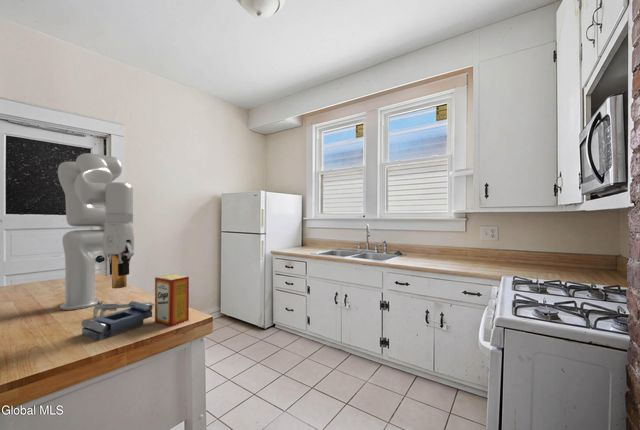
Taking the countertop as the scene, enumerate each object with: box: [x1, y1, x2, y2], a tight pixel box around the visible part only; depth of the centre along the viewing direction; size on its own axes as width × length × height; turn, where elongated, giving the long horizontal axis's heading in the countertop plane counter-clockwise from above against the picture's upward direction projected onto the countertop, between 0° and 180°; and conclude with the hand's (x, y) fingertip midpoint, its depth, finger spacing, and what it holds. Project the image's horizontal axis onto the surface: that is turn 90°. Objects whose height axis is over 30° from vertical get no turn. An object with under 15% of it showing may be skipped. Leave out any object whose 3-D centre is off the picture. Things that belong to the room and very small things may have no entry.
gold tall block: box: [111, 251, 128, 290], centre depth 92 cm, size 4×4×12 cm
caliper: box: [92, 300, 155, 319], centre depth 110 cm, size 20×1×6 cm, turn 142°
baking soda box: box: [154, 273, 190, 328], centre depth 99 cm, size 10×6×16 cm
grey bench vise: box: [81, 300, 154, 341], centre depth 93 cm, size 10×16×6 cm, turn 154°
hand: (119, 274), depth 92 cm, fingers closed on gold tall block, 4 cm apart
